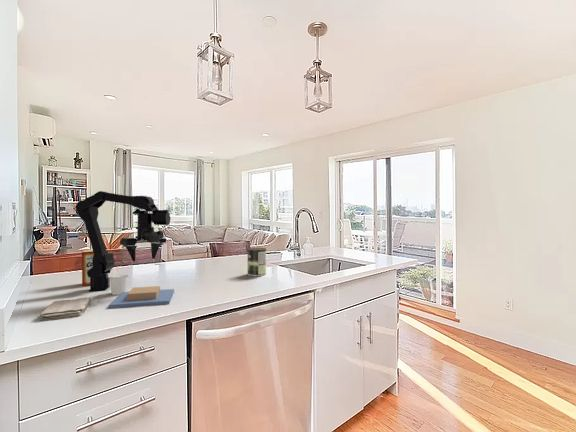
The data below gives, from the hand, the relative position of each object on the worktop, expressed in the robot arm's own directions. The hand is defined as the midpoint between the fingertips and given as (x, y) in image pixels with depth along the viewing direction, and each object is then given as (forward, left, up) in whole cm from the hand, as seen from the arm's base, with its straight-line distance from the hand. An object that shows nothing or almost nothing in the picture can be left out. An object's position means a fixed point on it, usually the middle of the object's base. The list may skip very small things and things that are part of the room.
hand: (143, 260), depth 136 cm
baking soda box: (-25, +17, -13) cm, 33 cm away
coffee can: (+53, +18, -13) cm, 58 cm away
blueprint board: (+3, -18, -13) cm, 22 cm away
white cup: (-9, -5, -13) cm, 16 cm away
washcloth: (-20, -26, -14) cm, 35 cm away
